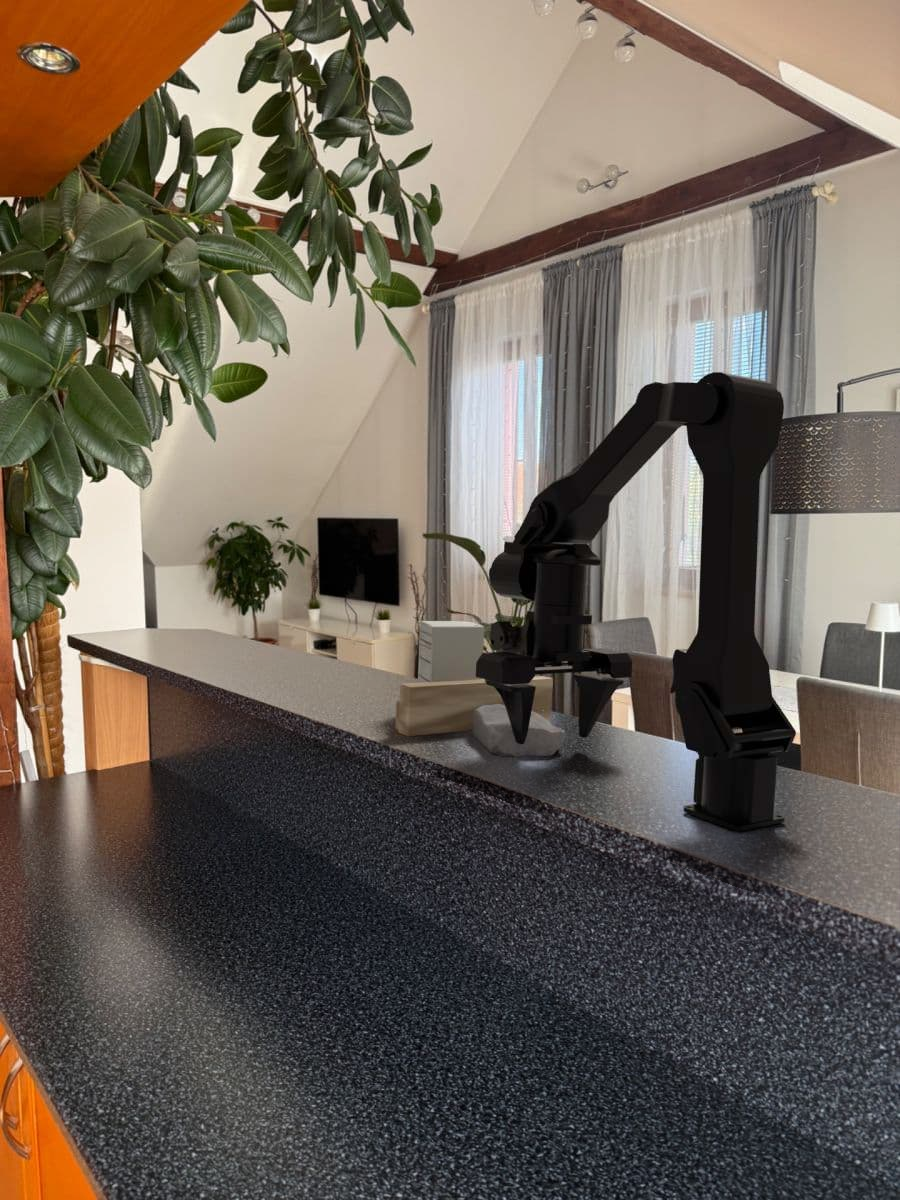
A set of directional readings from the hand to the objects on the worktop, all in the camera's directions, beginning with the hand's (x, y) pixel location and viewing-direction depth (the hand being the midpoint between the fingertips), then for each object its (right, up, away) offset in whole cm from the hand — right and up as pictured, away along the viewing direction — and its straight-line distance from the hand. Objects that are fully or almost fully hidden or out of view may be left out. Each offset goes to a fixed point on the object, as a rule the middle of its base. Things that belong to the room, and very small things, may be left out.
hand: (552, 740), depth 104 cm
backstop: (-8, 0, +13) cm, 15 cm away
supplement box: (-12, 0, +21) cm, 24 cm away
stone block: (-3, -2, +5) cm, 6 cm away
